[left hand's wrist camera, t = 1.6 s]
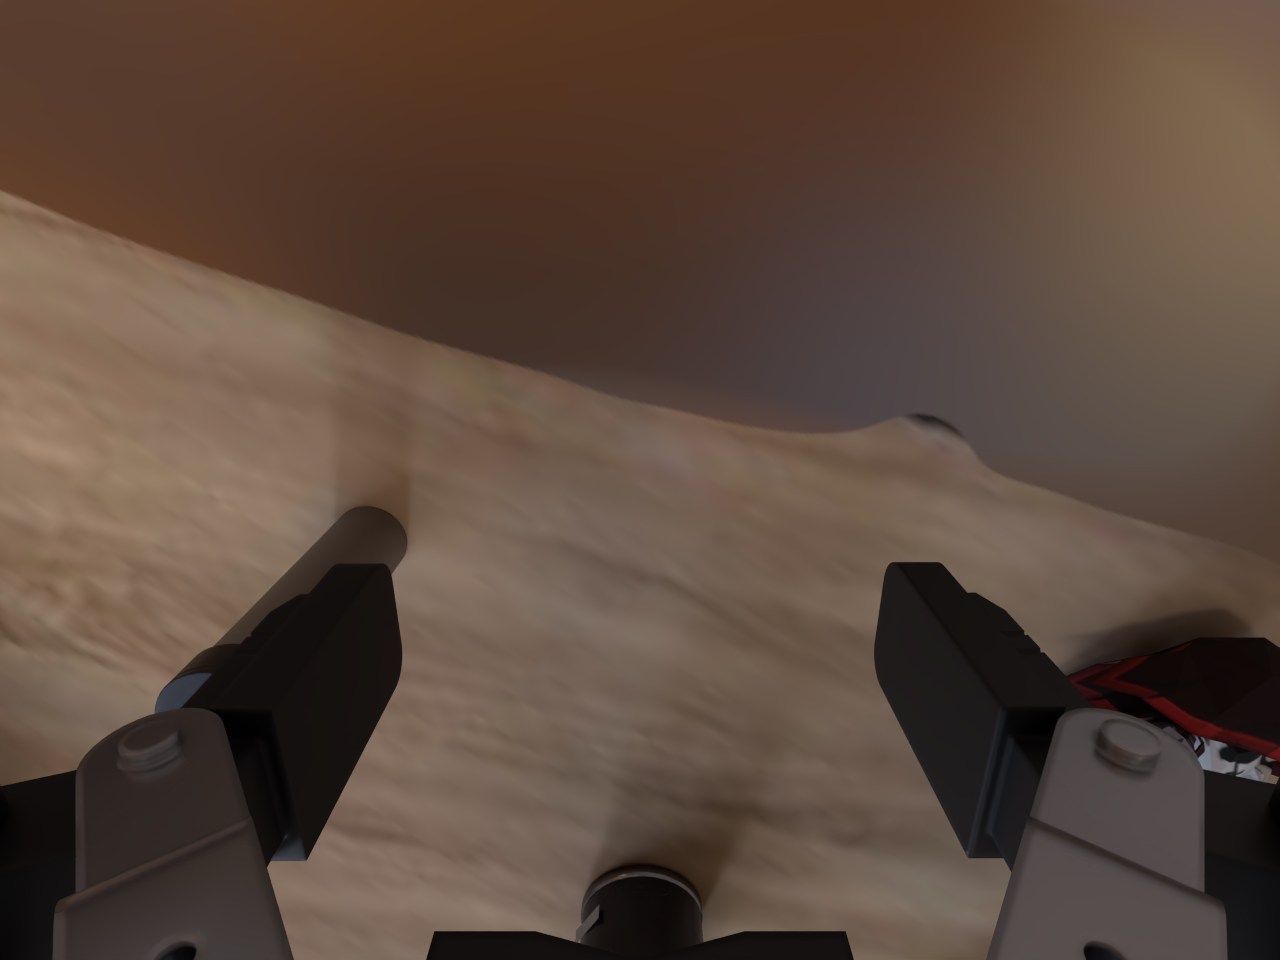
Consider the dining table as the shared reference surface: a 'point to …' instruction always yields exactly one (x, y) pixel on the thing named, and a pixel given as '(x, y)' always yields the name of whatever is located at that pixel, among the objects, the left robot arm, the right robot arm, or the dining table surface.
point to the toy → (1202, 699)
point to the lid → (192, 677)
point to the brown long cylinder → (330, 561)
